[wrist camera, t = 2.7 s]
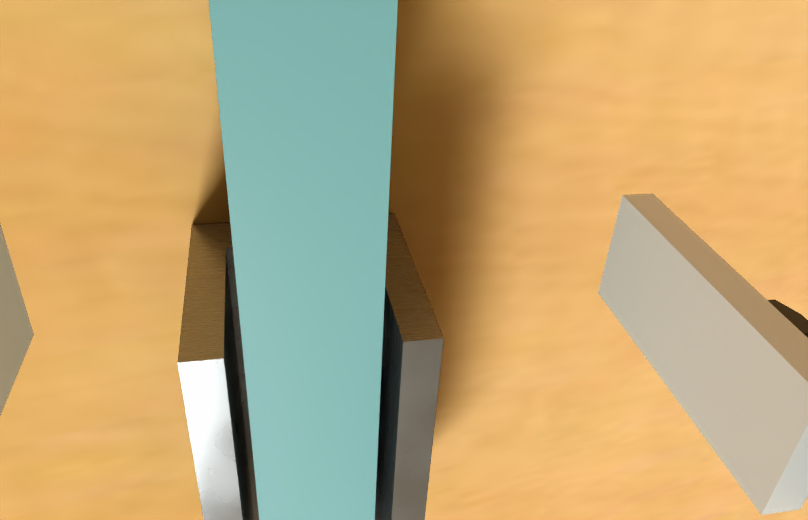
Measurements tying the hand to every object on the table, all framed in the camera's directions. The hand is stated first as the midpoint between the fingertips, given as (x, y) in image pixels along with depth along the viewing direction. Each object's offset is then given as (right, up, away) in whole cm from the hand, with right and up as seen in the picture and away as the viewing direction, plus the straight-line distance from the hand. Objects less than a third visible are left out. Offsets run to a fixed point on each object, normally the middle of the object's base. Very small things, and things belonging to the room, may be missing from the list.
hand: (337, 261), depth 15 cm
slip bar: (-2, -1, +10) cm, 10 cm away
